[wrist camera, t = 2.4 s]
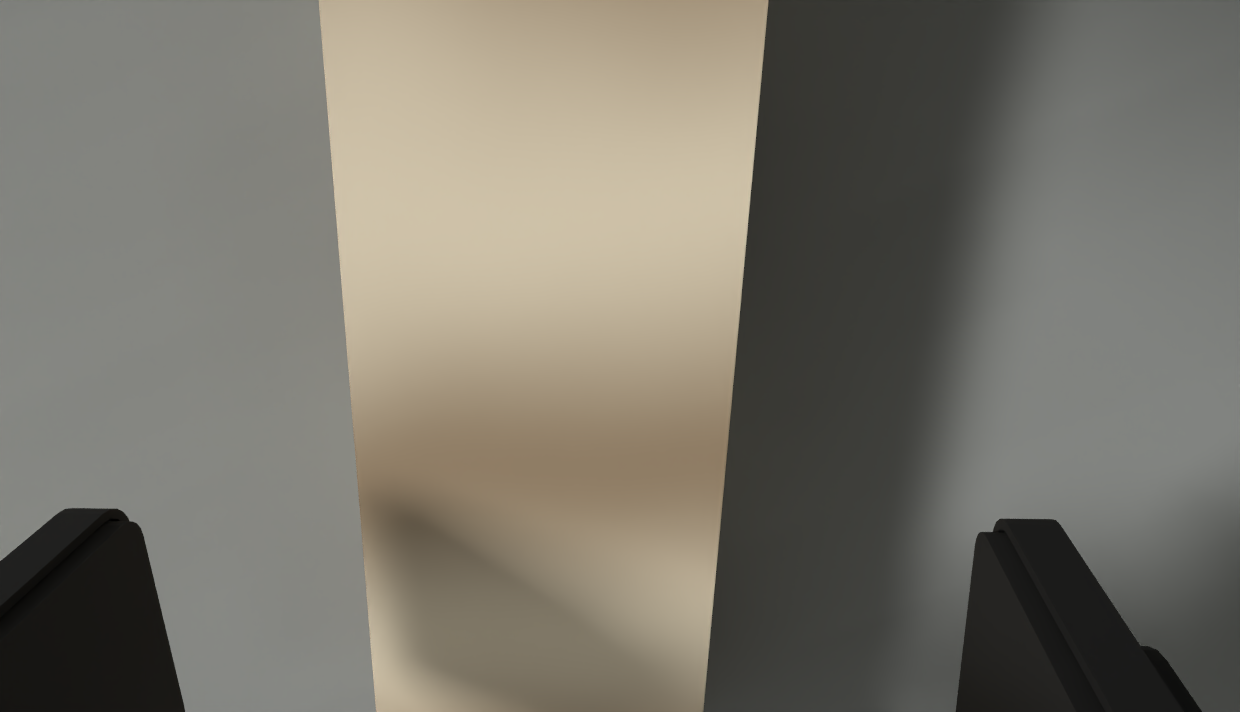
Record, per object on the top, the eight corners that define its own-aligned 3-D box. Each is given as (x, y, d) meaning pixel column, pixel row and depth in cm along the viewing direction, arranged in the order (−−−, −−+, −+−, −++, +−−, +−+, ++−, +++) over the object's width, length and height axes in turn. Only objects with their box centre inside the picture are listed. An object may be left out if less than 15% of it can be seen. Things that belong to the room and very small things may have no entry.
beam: (414, -285, 14) (287, -392, 9) (761, -274, 14) (802, -376, 9) (453, 689, 21) (391, 897, 17) (683, 705, 21) (683, 919, 16)
